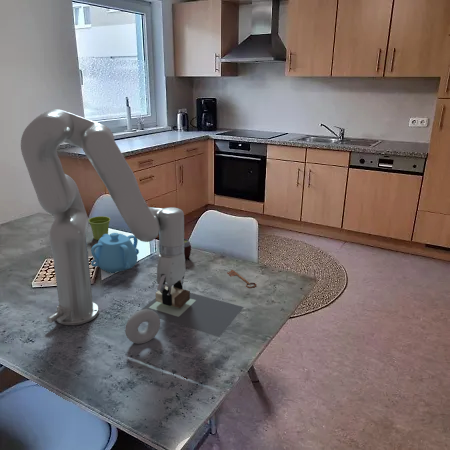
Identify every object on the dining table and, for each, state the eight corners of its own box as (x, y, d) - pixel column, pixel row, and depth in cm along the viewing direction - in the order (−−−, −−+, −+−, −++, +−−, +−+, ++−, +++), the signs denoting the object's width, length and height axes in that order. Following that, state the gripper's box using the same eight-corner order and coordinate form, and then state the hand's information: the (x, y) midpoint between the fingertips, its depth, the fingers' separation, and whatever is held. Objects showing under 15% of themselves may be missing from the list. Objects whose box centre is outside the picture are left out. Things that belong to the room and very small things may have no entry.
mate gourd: (188, 263, 161) (188, 228, 156) (169, 261, 162) (168, 226, 157) (192, 255, 168) (192, 221, 163) (174, 254, 169) (173, 220, 164)
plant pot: (116, 237, 185) (115, 218, 182) (100, 243, 177) (98, 224, 175) (101, 232, 190) (100, 214, 187) (85, 238, 182) (83, 220, 179)
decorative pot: (86, 273, 151) (82, 239, 146) (105, 256, 165) (103, 224, 161) (128, 278, 148) (125, 244, 143) (144, 260, 163) (142, 228, 158)
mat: (219, 338, 116) (219, 336, 115) (138, 313, 127) (138, 311, 126) (243, 308, 131) (243, 306, 131) (169, 288, 142) (169, 286, 142)
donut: (157, 333, 117) (156, 302, 114) (162, 339, 115) (162, 308, 111) (124, 344, 112) (122, 312, 108) (129, 351, 109) (127, 319, 106)
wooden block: (189, 299, 132) (189, 290, 131) (180, 308, 126) (179, 299, 125) (166, 292, 135) (165, 284, 134) (155, 301, 130) (155, 292, 129)
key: (223, 274, 155) (244, 291, 143) (223, 272, 155) (244, 289, 142) (236, 270, 157) (258, 286, 145) (236, 267, 157) (257, 284, 145)
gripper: (176, 236, 133) (176, 285, 140) (145, 255, 119) (147, 309, 125) (196, 241, 131) (196, 290, 137) (166, 261, 116) (168, 316, 122)
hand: (172, 299), depth 131 cm, fingers closed on wooden block, 5 cm apart
